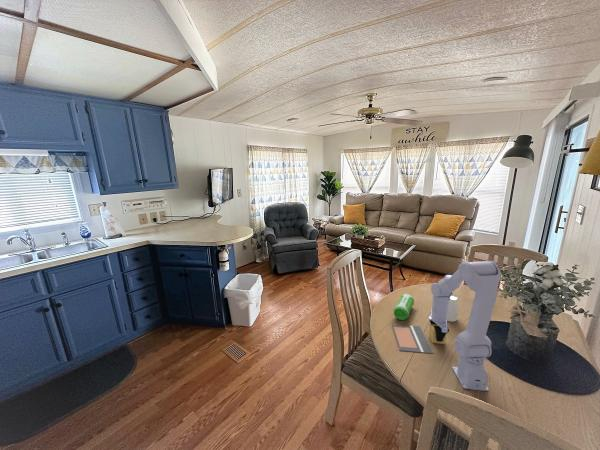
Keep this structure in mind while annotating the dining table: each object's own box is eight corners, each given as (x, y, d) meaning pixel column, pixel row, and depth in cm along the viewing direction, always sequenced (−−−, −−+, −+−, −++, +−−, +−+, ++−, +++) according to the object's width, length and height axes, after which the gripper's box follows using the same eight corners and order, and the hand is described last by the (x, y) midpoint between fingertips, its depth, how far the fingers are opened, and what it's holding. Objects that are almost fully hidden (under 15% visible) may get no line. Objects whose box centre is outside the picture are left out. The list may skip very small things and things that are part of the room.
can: (459, 322, 121) (461, 300, 118) (444, 321, 122) (446, 299, 120) (453, 315, 127) (456, 294, 125) (440, 314, 129) (442, 293, 126)
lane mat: (432, 353, 102) (432, 352, 102) (399, 350, 104) (399, 349, 104) (419, 326, 119) (419, 326, 119) (391, 324, 121) (391, 324, 121)
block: (445, 343, 107) (446, 331, 105) (432, 342, 108) (433, 330, 106) (440, 336, 111) (441, 324, 110) (428, 335, 112) (429, 323, 111)
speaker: (407, 323, 122) (408, 309, 121) (392, 318, 127) (393, 305, 125) (414, 307, 136) (415, 294, 135) (400, 303, 141) (401, 291, 139)
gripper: (424, 300, 114) (422, 326, 117) (435, 318, 100) (433, 347, 103) (440, 300, 113) (438, 327, 116) (454, 319, 99) (451, 348, 102)
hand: (437, 336), depth 109 cm, fingers closed on block, 5 cm apart
